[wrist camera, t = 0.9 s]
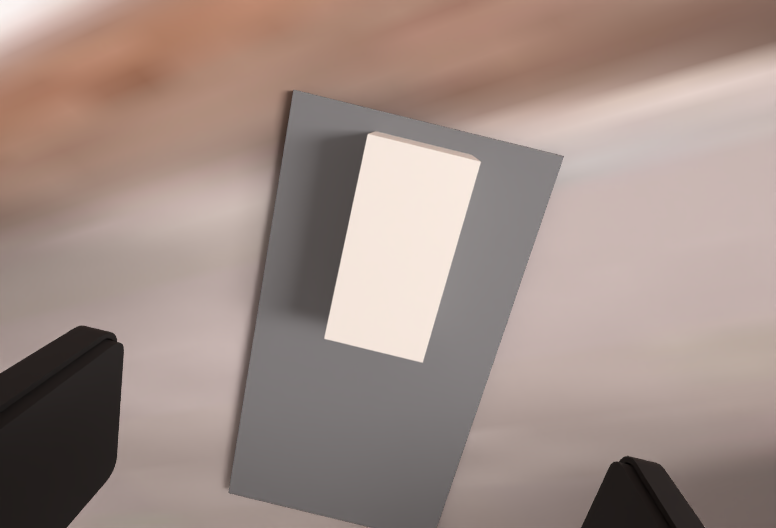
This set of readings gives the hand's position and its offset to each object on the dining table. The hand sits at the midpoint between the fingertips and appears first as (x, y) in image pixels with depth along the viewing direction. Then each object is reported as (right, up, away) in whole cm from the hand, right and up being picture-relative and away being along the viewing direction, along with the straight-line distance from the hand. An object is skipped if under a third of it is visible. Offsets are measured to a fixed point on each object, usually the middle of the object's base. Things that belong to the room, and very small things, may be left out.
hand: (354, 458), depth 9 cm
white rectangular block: (+1, +5, +17) cm, 18 cm away
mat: (0, -1, +19) cm, 20 cm away
